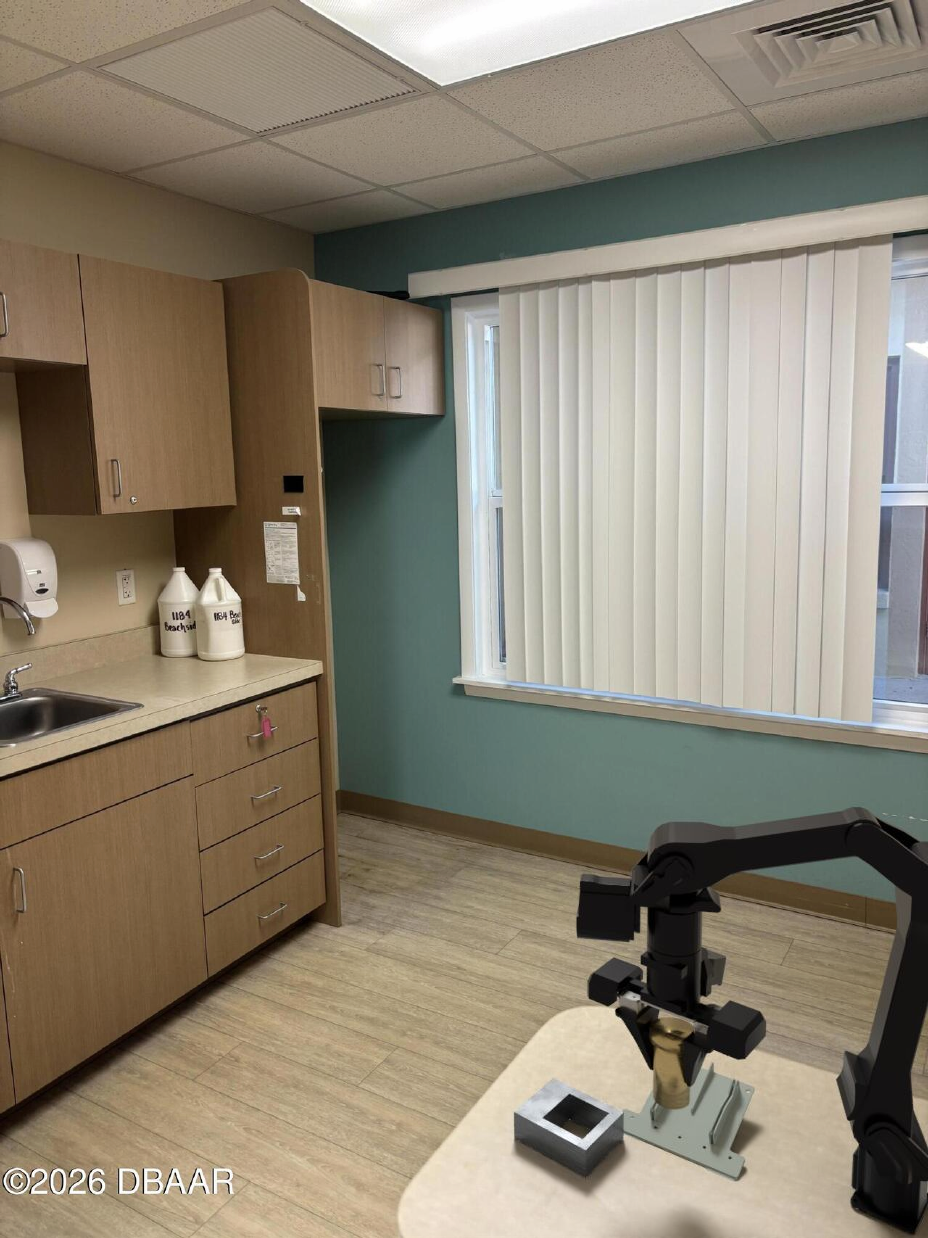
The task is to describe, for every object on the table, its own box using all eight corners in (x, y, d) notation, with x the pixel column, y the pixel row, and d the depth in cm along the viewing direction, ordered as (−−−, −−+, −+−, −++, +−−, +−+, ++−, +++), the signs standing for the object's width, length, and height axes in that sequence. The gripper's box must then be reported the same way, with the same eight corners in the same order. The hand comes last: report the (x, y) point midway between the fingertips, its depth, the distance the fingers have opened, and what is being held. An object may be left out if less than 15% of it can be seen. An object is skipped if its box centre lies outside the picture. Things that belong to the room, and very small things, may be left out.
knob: (702, 1095, 104) (704, 1028, 103) (681, 1119, 100) (682, 1050, 99) (662, 1077, 107) (663, 1012, 106) (639, 1099, 104) (640, 1032, 102)
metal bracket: (656, 1036, 122) (773, 1077, 113) (660, 1069, 124) (775, 1111, 115) (607, 1125, 111) (731, 1178, 103) (613, 1160, 113) (736, 1214, 105)
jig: (623, 1139, 111) (623, 1112, 110) (585, 1178, 105) (585, 1150, 104) (553, 1103, 117) (553, 1078, 117) (514, 1138, 111) (513, 1112, 111)
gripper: (789, 941, 101) (784, 1074, 103) (636, 893, 113) (635, 1013, 115) (744, 985, 93) (740, 1129, 95) (584, 928, 105) (584, 1057, 107)
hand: (671, 1076), depth 103 cm, fingers closed on knob, 4 cm apart
